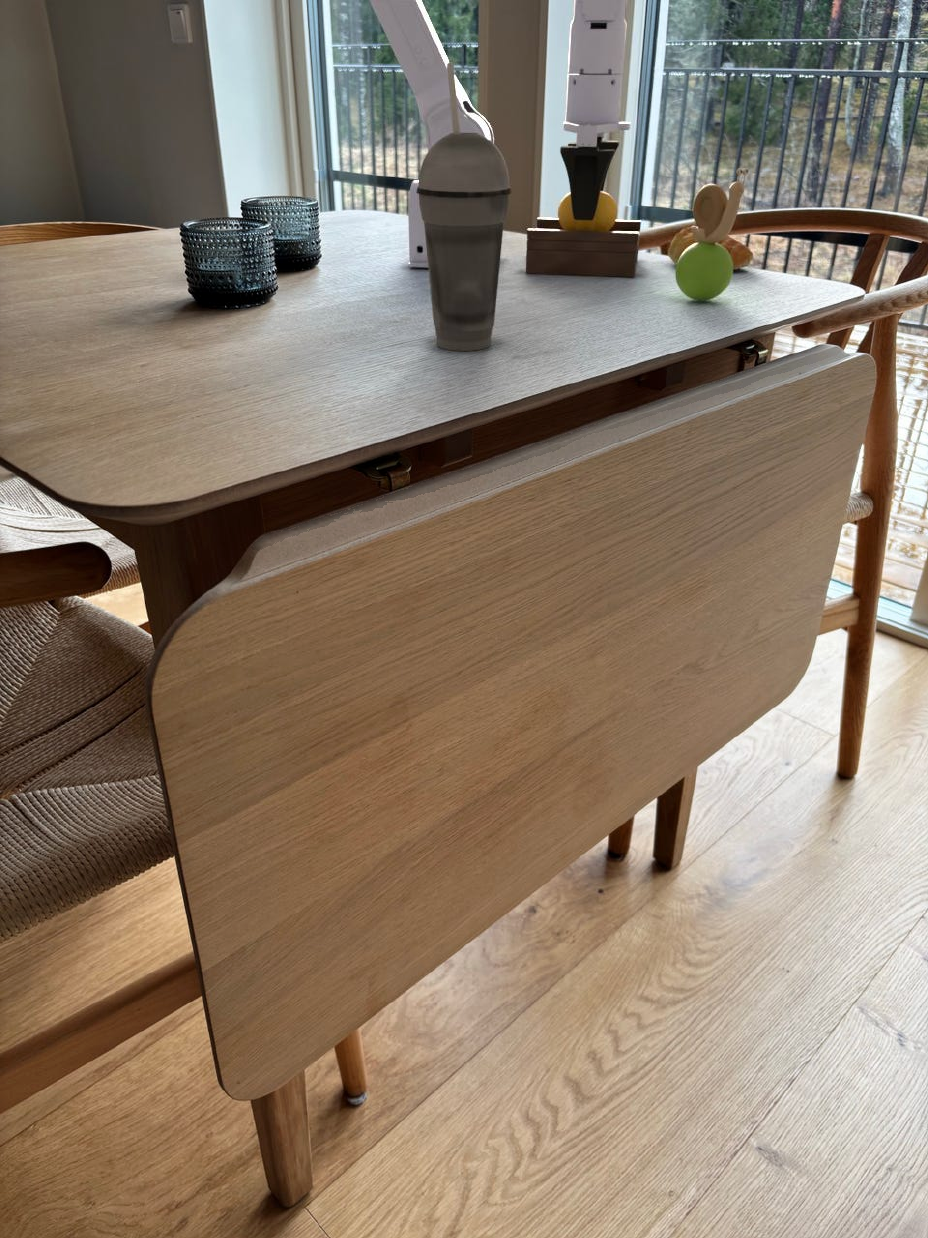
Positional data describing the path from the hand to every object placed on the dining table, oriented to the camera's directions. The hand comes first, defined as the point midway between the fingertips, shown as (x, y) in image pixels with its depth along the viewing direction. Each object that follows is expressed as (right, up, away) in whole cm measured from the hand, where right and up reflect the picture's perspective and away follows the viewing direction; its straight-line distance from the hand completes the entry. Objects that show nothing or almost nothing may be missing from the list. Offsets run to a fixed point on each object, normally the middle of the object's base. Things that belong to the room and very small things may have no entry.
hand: (586, 215), depth 105 cm
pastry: (+15, -4, +4) cm, 16 cm away
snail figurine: (+10, -14, -13) cm, 21 cm away
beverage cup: (-14, -23, -27) cm, 38 cm away
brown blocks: (0, -5, +3) cm, 6 cm away
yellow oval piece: (0, -2, +1) cm, 2 cm away
